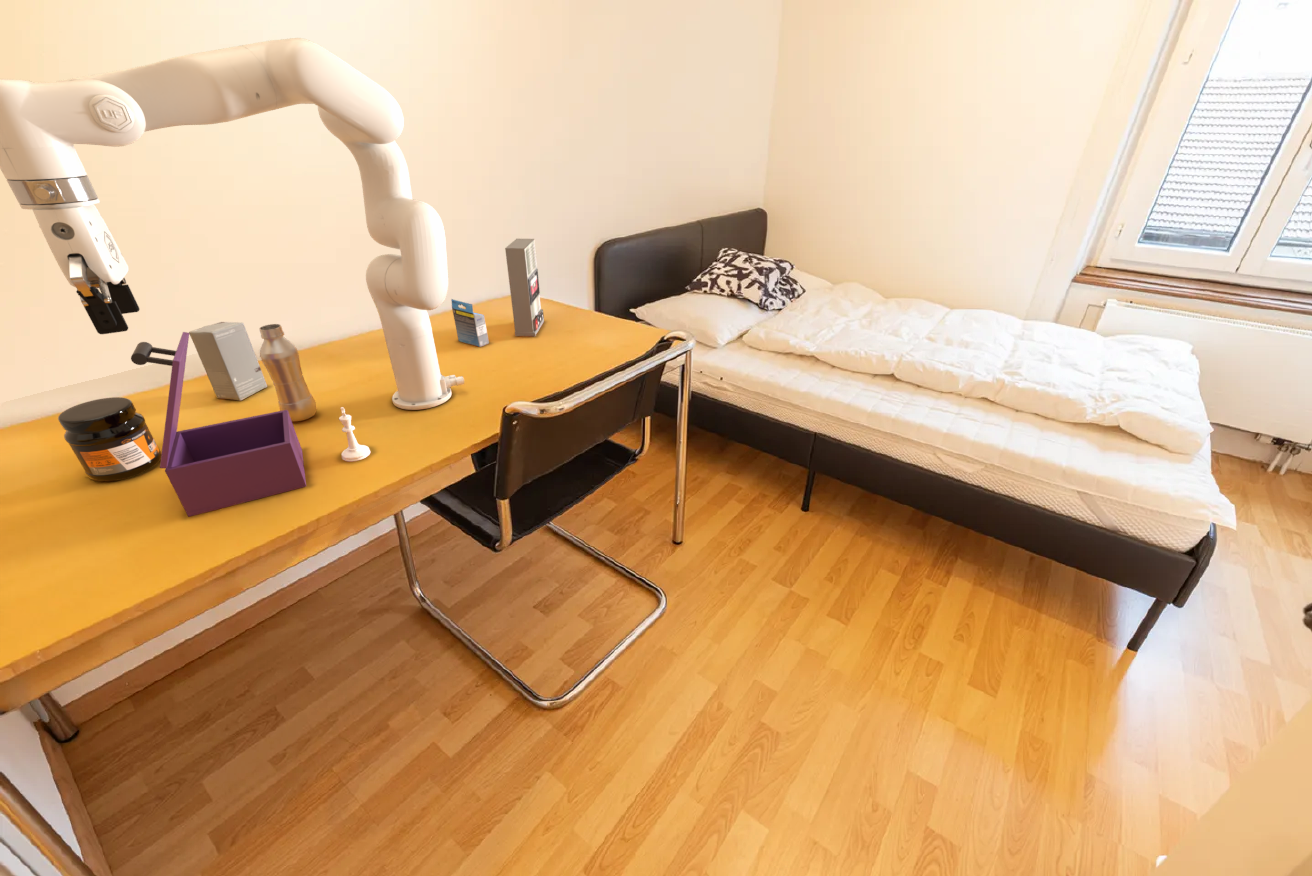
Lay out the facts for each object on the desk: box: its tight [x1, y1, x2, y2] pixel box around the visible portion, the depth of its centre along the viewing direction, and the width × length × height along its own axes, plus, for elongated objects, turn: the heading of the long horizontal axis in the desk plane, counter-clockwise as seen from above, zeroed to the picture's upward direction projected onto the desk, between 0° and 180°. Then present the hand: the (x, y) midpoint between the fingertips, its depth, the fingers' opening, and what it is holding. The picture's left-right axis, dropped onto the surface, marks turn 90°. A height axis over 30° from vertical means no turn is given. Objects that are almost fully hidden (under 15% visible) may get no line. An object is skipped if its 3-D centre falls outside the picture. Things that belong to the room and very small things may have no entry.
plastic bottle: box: [259, 323, 318, 422], centre depth 114 cm, size 6×7×20 cm
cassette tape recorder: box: [504, 238, 545, 338], centre depth 163 cm, size 14×6×25 cm, turn 179°
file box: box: [164, 410, 307, 517], centre depth 96 cm, size 17×14×9 cm
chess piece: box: [338, 406, 371, 462], centre depth 103 cm, size 5×5×10 cm
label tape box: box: [450, 298, 490, 348], centre depth 155 cm, size 9×4×12 cm, turn 58°
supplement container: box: [57, 396, 162, 482], centre depth 98 cm, size 10×10×12 cm
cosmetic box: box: [188, 321, 268, 401], centre depth 125 cm, size 8×7×16 cm
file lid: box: [130, 331, 190, 469], centre depth 86 cm, size 18×14×6 cm
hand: (120, 321), depth 80 cm, fingers open, 9 cm apart
